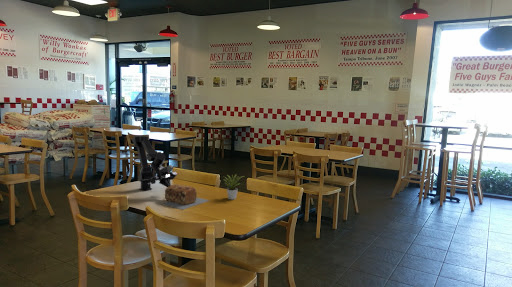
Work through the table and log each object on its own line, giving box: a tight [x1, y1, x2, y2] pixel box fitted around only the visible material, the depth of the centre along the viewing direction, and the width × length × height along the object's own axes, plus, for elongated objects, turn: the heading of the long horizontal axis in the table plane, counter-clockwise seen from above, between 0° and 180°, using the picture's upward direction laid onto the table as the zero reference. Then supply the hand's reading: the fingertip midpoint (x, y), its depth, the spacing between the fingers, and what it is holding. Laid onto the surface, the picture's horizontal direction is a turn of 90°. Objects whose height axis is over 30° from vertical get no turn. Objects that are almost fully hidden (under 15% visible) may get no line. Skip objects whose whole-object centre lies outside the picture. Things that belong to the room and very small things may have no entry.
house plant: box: [222, 173, 245, 200], centre depth 237 cm, size 14×14×16 cm
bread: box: [164, 184, 198, 205], centre depth 226 cm, size 19×11×10 cm, turn 53°
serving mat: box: [161, 196, 210, 211], centre depth 225 cm, size 18×24×1 cm
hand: (170, 188), depth 231 cm, fingers closed
